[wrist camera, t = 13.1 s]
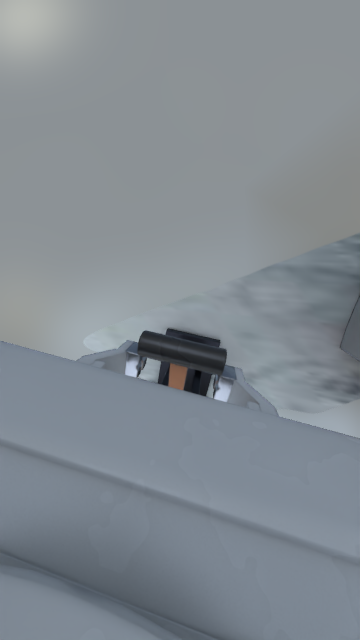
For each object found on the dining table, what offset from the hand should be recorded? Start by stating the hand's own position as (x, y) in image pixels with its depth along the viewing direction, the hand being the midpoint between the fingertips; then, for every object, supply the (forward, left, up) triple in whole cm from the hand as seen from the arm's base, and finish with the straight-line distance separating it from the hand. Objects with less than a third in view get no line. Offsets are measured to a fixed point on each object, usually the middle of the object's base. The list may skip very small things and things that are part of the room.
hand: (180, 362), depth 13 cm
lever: (+3, +3, -3) cm, 5 cm away
